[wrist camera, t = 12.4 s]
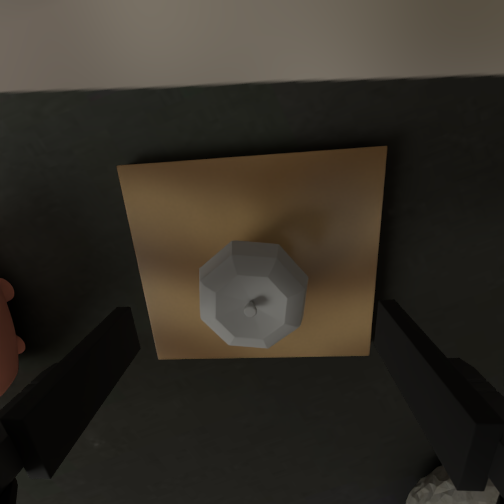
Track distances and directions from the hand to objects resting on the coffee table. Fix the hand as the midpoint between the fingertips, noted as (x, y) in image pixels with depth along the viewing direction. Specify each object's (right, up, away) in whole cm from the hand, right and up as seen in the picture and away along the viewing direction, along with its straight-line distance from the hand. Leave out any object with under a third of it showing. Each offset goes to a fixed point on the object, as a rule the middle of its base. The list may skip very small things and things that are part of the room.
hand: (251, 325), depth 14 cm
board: (0, +3, +9) cm, 10 cm away
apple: (0, +2, +8) cm, 9 cm away
